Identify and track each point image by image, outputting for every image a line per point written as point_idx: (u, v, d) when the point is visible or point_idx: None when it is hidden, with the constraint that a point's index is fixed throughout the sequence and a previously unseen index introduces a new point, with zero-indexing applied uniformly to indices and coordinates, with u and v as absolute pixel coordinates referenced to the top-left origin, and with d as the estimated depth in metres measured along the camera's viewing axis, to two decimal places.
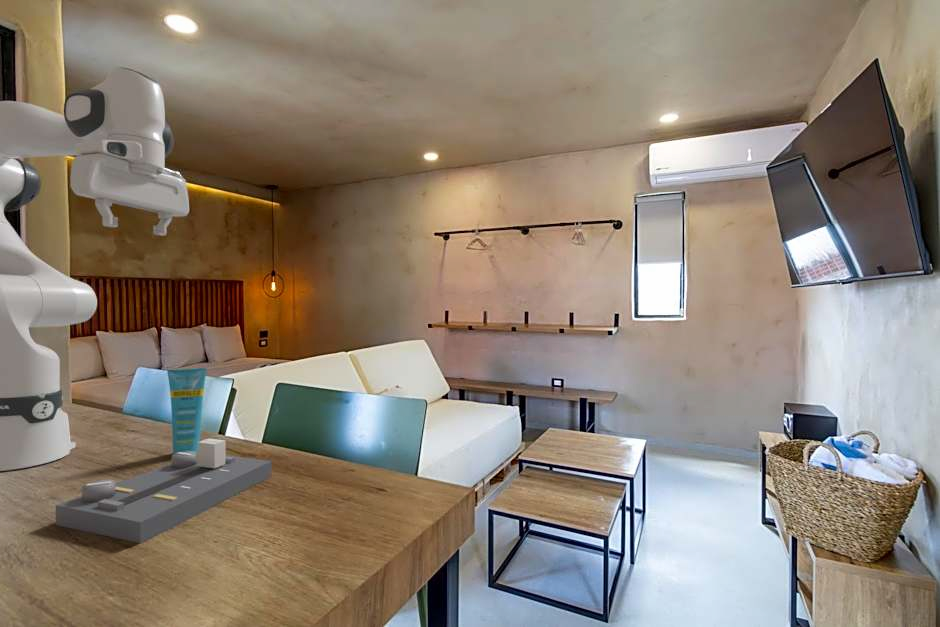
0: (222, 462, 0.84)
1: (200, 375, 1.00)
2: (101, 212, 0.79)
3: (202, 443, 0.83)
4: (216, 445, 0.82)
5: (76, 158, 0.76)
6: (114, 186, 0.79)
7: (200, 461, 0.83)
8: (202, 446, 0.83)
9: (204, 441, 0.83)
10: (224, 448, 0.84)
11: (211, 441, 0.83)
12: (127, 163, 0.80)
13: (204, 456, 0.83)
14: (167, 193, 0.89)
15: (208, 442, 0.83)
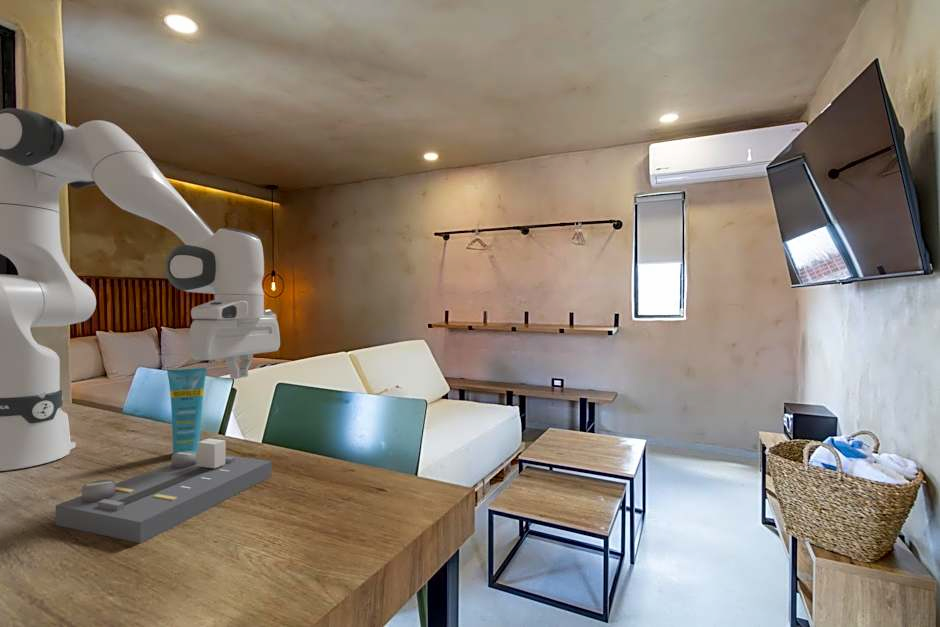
0: (222, 462, 0.84)
1: (200, 375, 1.00)
2: (229, 367, 0.88)
3: (202, 443, 0.83)
4: (216, 445, 0.82)
5: (193, 325, 0.81)
6: (225, 345, 0.84)
7: (200, 461, 0.83)
8: (202, 446, 0.83)
9: (204, 441, 0.83)
10: (224, 448, 0.84)
11: (211, 441, 0.83)
12: (236, 322, 0.85)
13: (204, 456, 0.83)
14: (264, 335, 0.94)
15: (208, 442, 0.83)
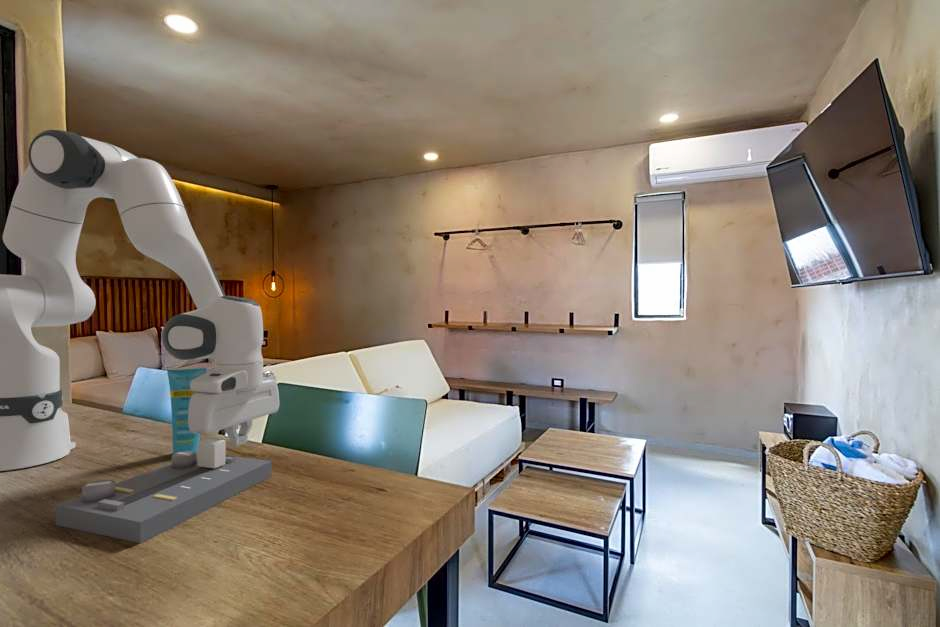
0: (222, 462, 0.84)
1: (200, 375, 1.00)
2: (229, 435, 0.88)
3: (202, 443, 0.83)
4: (216, 445, 0.82)
5: (193, 399, 0.81)
6: (224, 416, 0.84)
7: (200, 461, 0.83)
8: (202, 446, 0.83)
9: (204, 441, 0.83)
10: (224, 448, 0.84)
11: (211, 441, 0.83)
12: (235, 392, 0.85)
13: (204, 456, 0.83)
14: (263, 399, 0.94)
15: (208, 442, 0.83)
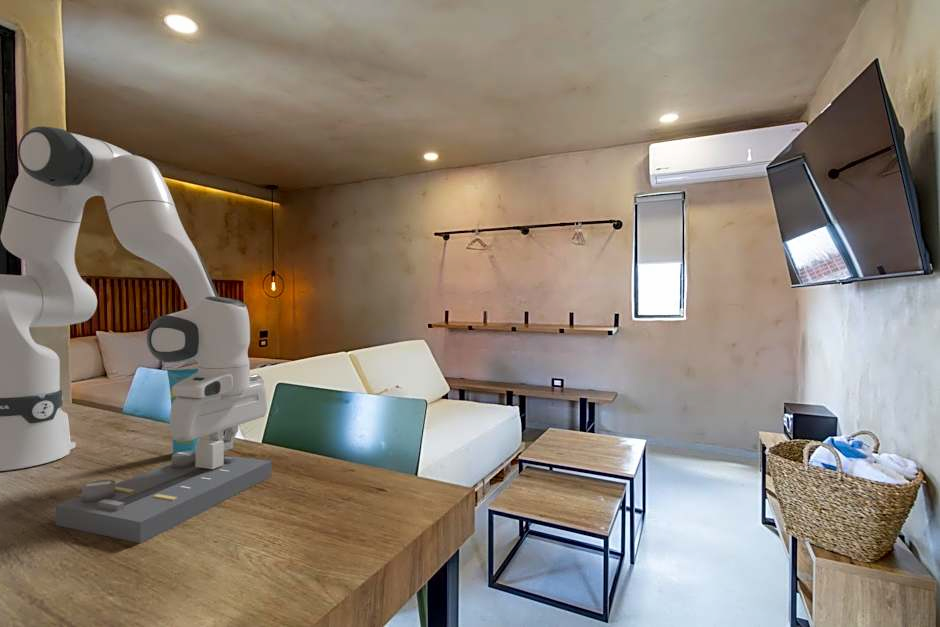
0: (220, 463, 0.83)
1: None
2: None
3: (200, 444, 0.82)
4: (214, 446, 0.82)
5: (175, 404, 0.78)
6: (208, 422, 0.81)
7: (198, 462, 0.82)
8: (200, 447, 0.82)
9: (202, 442, 0.83)
10: (222, 448, 0.84)
11: (209, 442, 0.83)
12: (220, 397, 0.82)
13: (202, 457, 0.82)
14: (250, 404, 0.91)
15: (206, 443, 0.82)
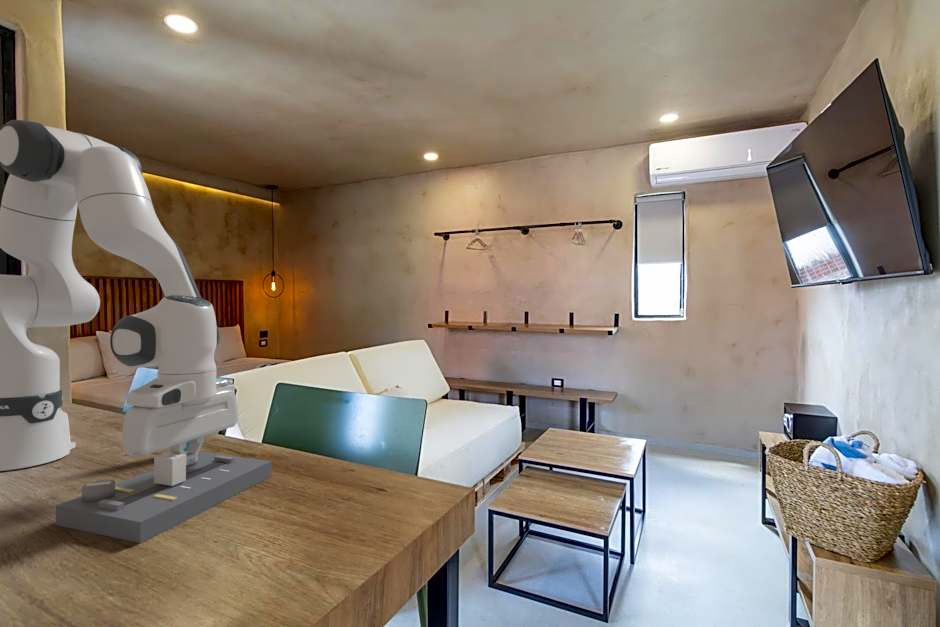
0: (182, 478, 0.76)
1: None
2: None
3: (159, 458, 0.75)
4: (174, 460, 0.74)
5: (128, 414, 0.70)
6: (167, 434, 0.73)
7: (157, 478, 0.75)
8: (159, 461, 0.75)
9: (162, 455, 0.75)
10: (184, 463, 0.76)
11: (169, 455, 0.75)
12: (181, 406, 0.74)
13: (161, 472, 0.74)
14: (218, 413, 0.83)
15: (166, 456, 0.75)
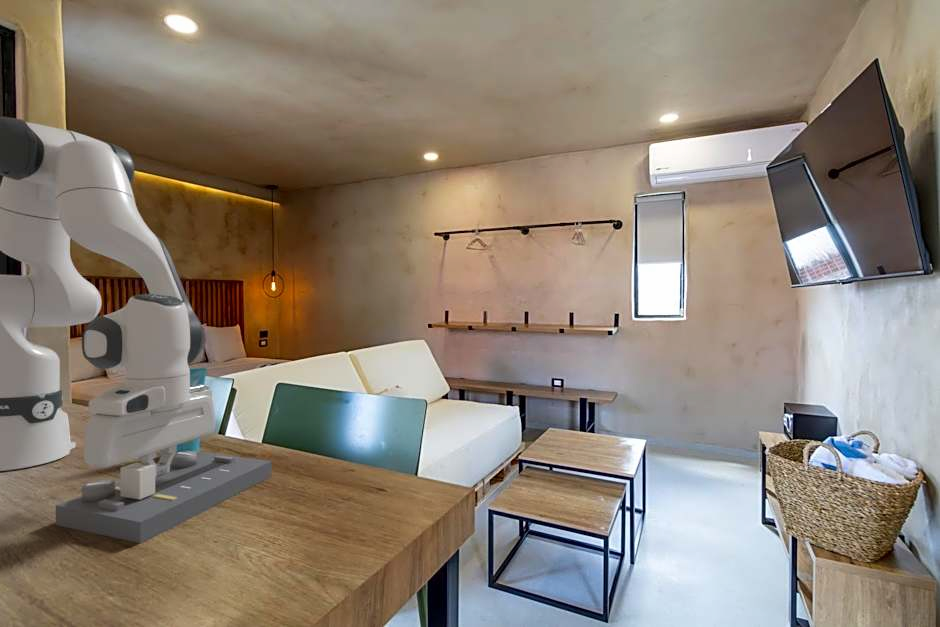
0: (150, 491, 0.70)
1: (200, 375, 1.00)
2: None
3: (126, 469, 0.69)
4: (141, 472, 0.69)
5: (90, 423, 0.65)
6: (134, 443, 0.68)
7: (123, 490, 0.69)
8: (125, 472, 0.69)
9: (129, 466, 0.70)
10: (153, 474, 0.71)
11: (137, 466, 0.70)
12: (149, 413, 0.69)
13: (128, 485, 0.69)
14: (192, 420, 0.77)
15: (133, 468, 0.70)
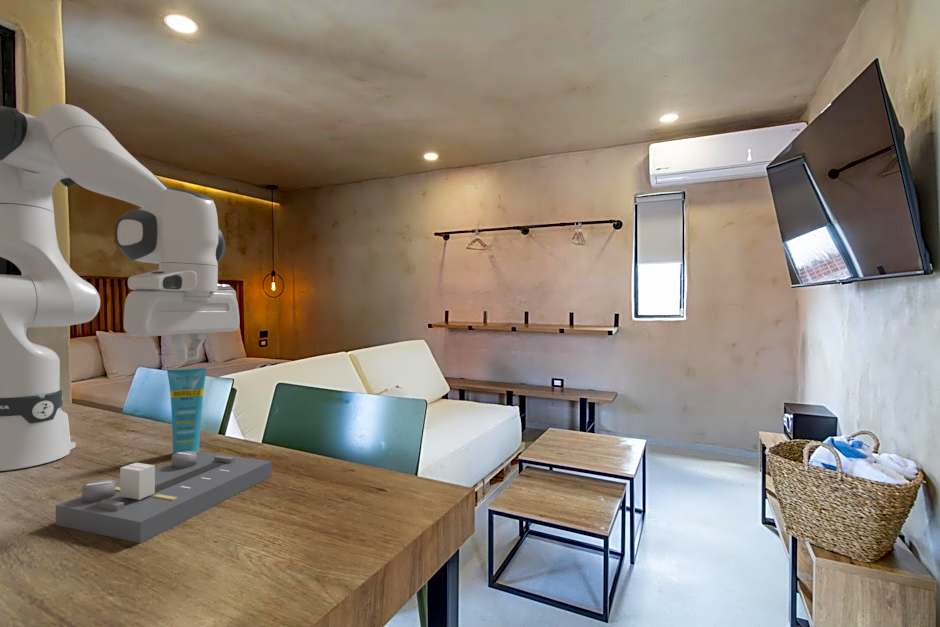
0: (150, 491, 0.70)
1: (200, 375, 1.00)
2: (176, 347, 0.77)
3: (125, 469, 0.69)
4: (141, 472, 0.69)
5: (130, 296, 0.70)
6: (168, 320, 0.73)
7: (123, 491, 0.69)
8: (125, 473, 0.69)
9: (128, 466, 0.70)
10: (152, 474, 0.71)
11: (137, 466, 0.70)
12: (182, 294, 0.74)
13: (127, 485, 0.69)
14: (219, 312, 0.83)
15: (133, 468, 0.69)
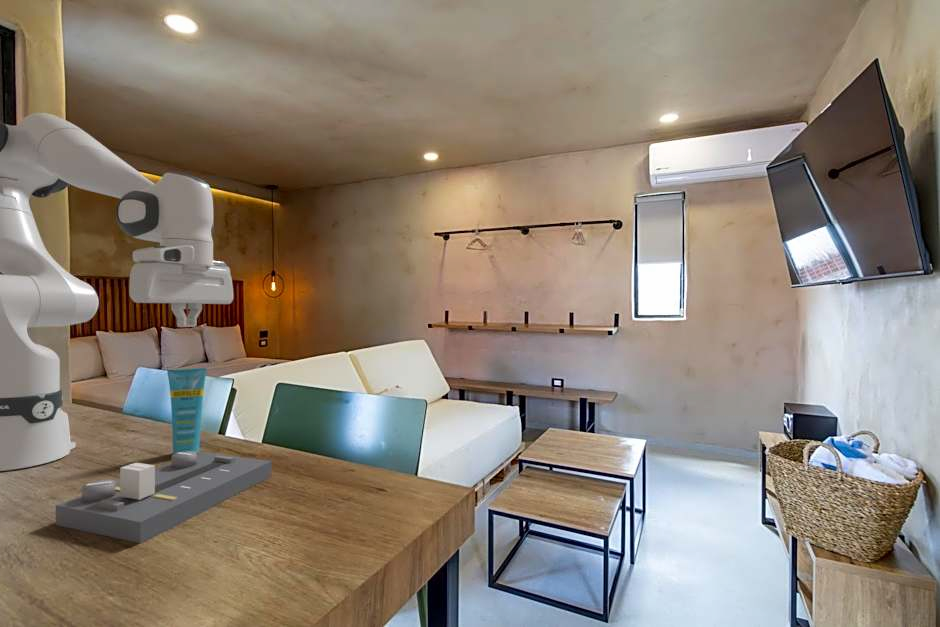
0: (150, 491, 0.70)
1: (200, 375, 1.00)
2: (176, 315, 0.86)
3: (125, 469, 0.69)
4: (141, 472, 0.69)
5: (134, 267, 0.79)
6: (169, 290, 0.82)
7: (123, 491, 0.69)
8: (125, 473, 0.69)
9: (128, 466, 0.70)
10: (152, 474, 0.71)
11: (137, 466, 0.70)
12: (181, 266, 0.83)
13: (127, 485, 0.69)
14: (214, 286, 0.92)
15: (133, 468, 0.69)
